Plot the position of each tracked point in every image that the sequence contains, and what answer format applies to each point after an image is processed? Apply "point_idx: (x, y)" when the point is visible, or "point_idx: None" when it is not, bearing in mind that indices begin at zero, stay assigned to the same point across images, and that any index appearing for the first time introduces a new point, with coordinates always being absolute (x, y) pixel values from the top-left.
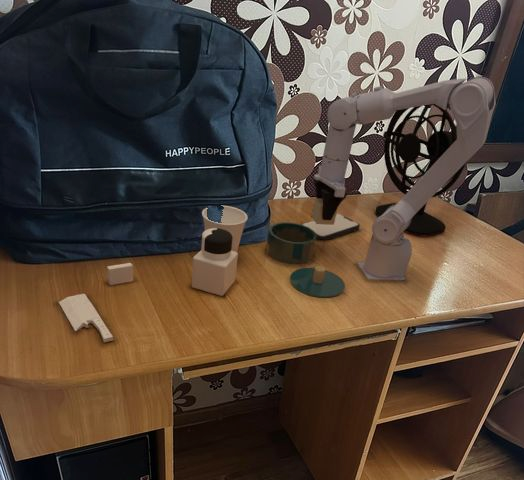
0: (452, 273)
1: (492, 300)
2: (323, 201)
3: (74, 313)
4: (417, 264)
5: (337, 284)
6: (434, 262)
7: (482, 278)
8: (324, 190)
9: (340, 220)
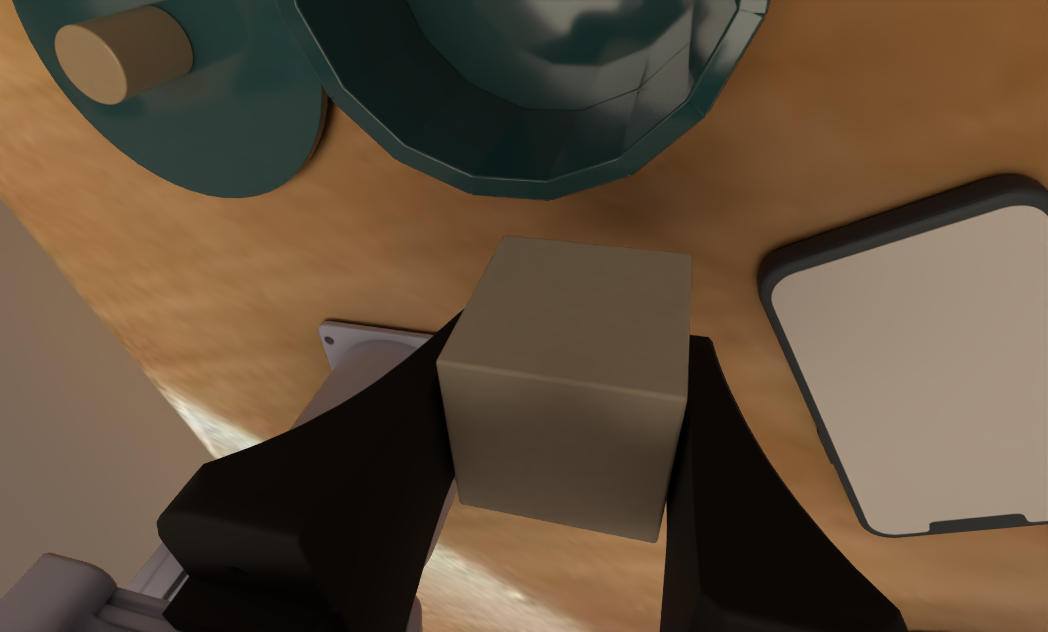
0: (453, 577)
1: None
2: (367, 420)
3: None
4: (502, 532)
5: (179, 153)
6: (523, 578)
7: (437, 614)
8: (251, 549)
9: (976, 480)
